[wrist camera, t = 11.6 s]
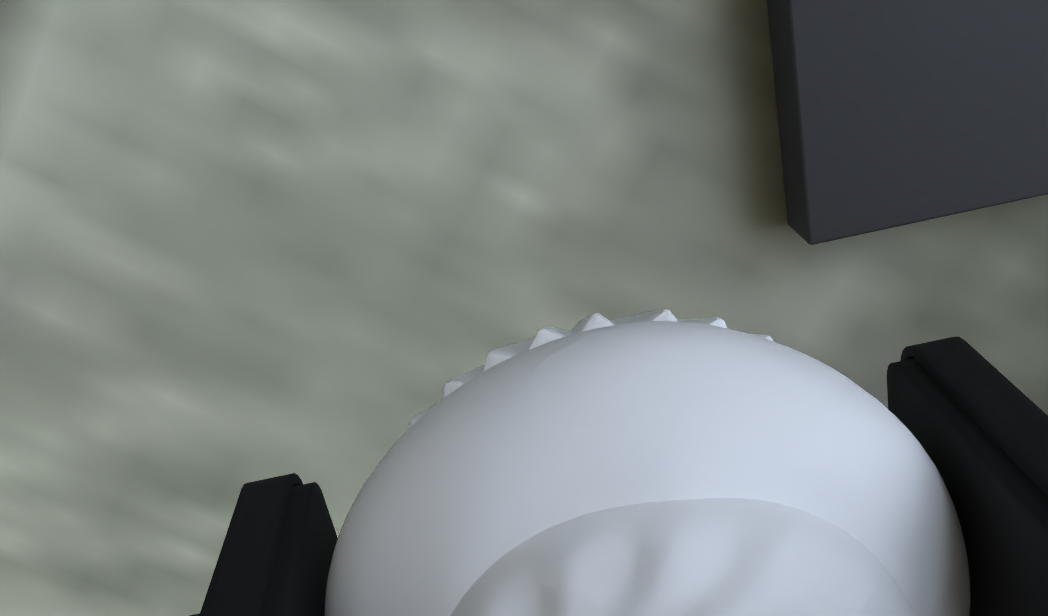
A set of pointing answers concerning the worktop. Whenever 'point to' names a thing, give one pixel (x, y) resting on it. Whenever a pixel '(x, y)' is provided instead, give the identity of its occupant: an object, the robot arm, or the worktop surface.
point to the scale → (907, 109)
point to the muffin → (652, 488)
